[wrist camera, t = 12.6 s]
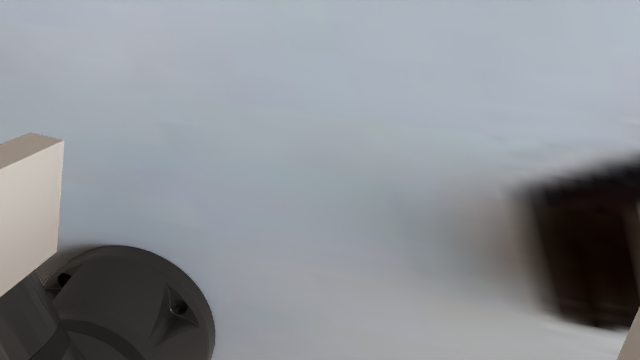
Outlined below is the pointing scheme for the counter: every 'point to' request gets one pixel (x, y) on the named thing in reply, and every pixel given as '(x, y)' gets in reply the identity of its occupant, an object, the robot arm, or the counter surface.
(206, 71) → the counter surface
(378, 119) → the counter surface
